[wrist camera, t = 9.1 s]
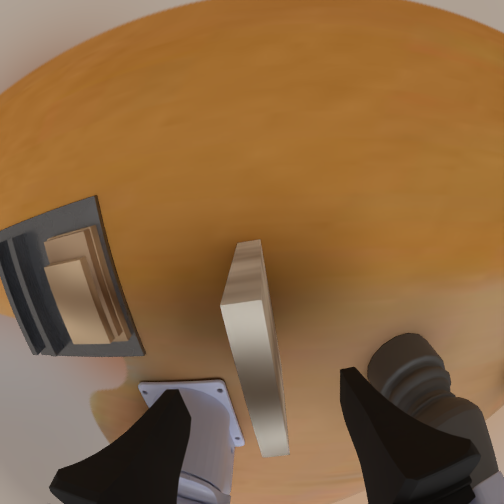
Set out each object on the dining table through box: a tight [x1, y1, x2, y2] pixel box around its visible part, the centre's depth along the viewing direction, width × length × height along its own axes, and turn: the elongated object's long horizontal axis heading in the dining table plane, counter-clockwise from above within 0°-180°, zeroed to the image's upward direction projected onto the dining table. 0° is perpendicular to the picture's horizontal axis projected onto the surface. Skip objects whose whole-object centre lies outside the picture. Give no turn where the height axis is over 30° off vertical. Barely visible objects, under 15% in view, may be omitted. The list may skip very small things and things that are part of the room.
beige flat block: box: [220, 239, 290, 457], centre depth 16 cm, size 10×2×9 cm, turn 10°
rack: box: [0, 195, 146, 357], centre depth 19 cm, size 13×13×2 cm
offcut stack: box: [44, 225, 132, 344], centre depth 18 cm, size 9×5×2 cm, turn 10°
